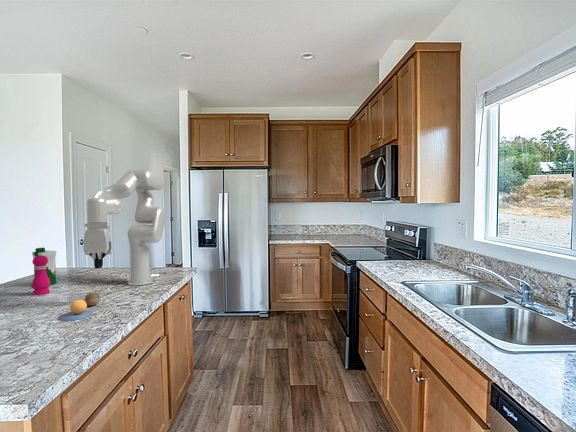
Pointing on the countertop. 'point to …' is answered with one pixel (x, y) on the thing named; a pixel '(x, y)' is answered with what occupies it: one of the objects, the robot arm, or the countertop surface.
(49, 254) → the milk carton
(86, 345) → the countertop surface
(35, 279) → the pepper mill
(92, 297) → the brown egg
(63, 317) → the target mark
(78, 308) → the object ball
